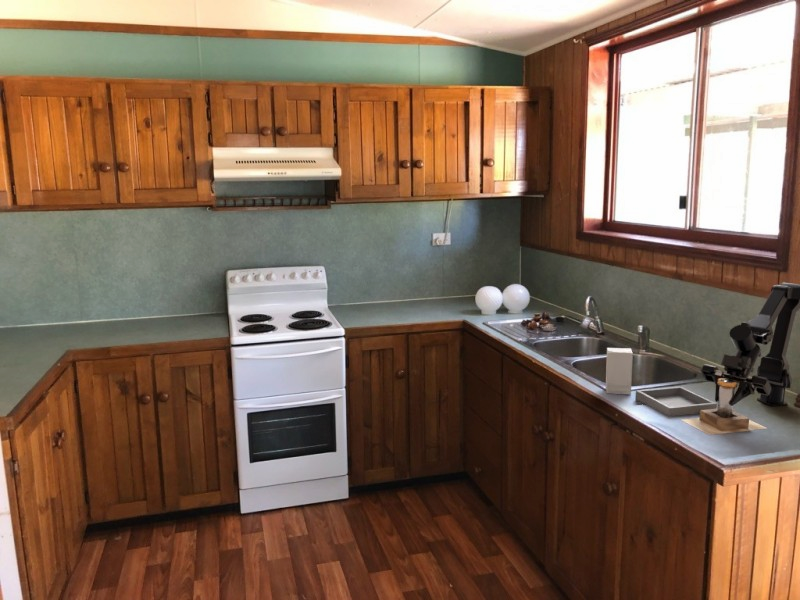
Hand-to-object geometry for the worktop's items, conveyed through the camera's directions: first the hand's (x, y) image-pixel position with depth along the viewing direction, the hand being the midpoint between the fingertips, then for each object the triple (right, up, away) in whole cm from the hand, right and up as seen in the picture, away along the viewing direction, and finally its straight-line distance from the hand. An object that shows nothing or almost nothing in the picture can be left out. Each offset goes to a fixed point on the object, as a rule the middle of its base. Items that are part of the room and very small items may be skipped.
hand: (723, 403), depth 195 cm
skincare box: (-20, -1, +33) cm, 39 cm away
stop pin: (+1, -6, +2) cm, 7 cm away
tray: (-7, -4, +19) cm, 20 cm away
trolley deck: (+1, -7, +2) cm, 8 cm away
